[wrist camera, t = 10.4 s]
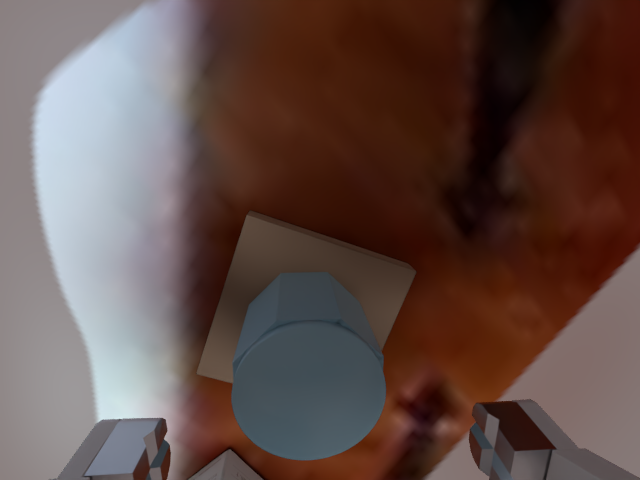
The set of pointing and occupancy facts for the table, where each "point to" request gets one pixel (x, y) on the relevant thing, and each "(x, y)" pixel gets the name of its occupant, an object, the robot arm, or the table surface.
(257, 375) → the teal cap
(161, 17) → the table surface
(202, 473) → the supplement box
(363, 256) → the post base
